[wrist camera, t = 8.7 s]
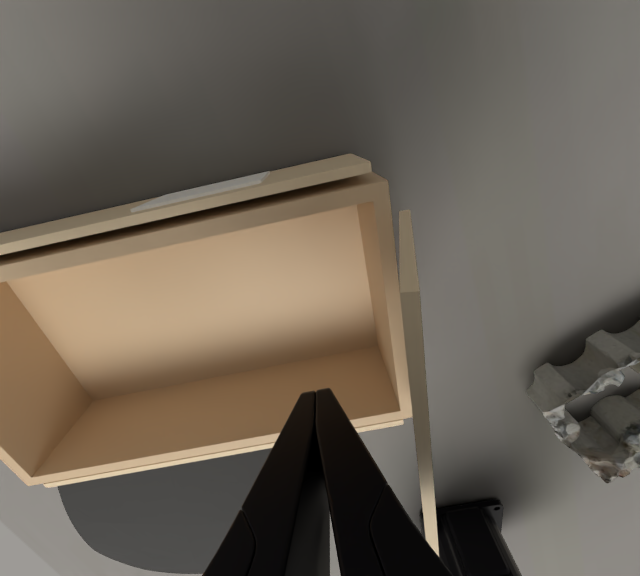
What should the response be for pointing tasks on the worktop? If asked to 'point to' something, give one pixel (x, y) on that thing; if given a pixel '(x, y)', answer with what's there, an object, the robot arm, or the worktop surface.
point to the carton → (199, 322)
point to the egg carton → (607, 414)
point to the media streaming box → (164, 511)
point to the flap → (417, 372)
